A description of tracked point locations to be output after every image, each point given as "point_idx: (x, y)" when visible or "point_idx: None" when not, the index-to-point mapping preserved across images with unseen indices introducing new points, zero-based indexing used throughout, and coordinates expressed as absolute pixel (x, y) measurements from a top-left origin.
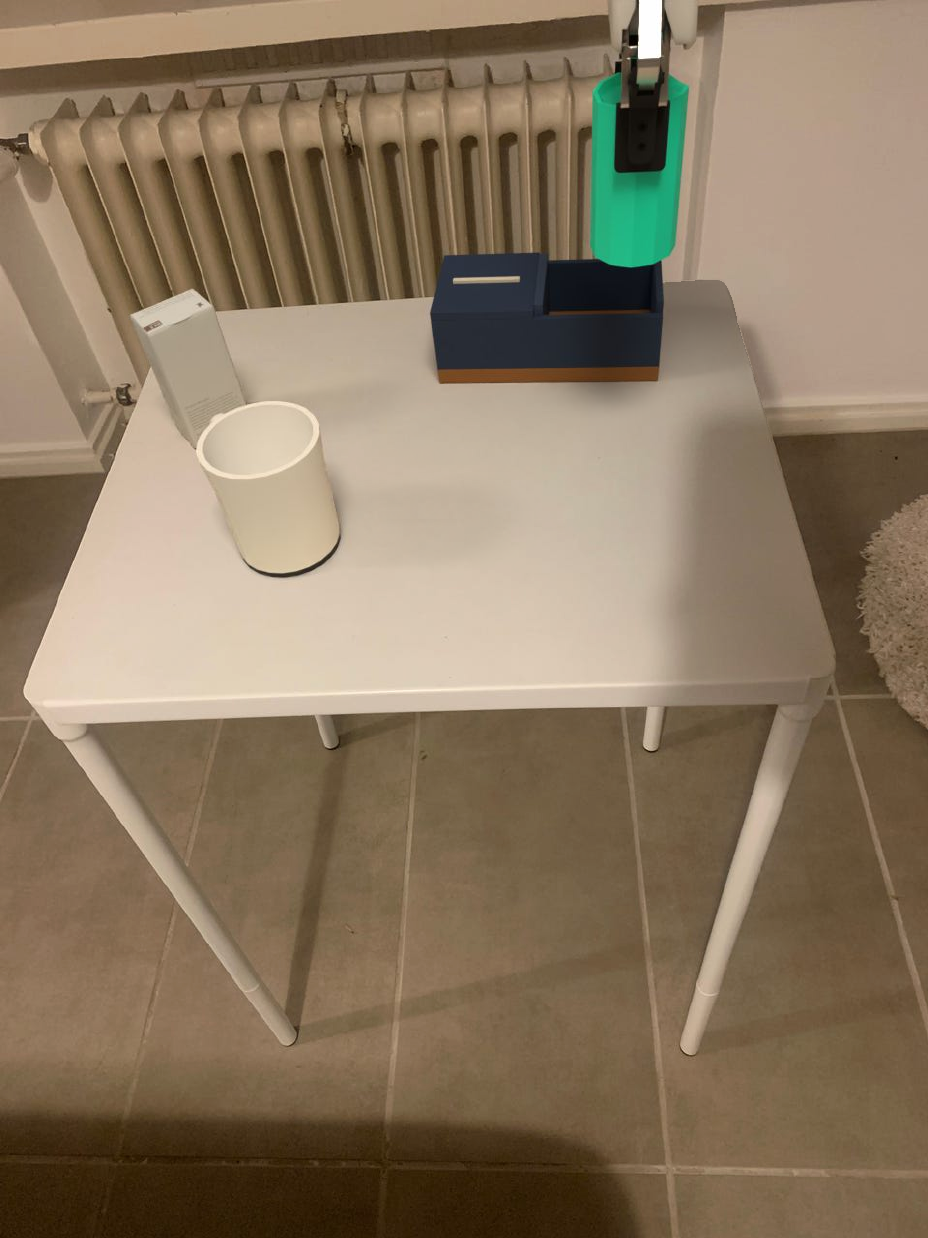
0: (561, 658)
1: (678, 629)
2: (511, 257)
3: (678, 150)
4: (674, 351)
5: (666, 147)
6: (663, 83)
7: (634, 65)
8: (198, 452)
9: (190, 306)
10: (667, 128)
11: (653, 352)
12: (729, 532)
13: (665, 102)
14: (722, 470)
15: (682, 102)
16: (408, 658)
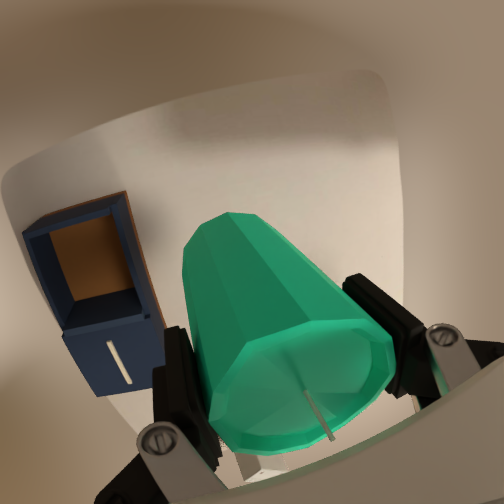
0: (391, 198)
1: (371, 141)
2: (78, 355)
3: (308, 266)
4: (82, 187)
5: (377, 286)
6: (500, 343)
7: (210, 443)
8: (366, 408)
9: (264, 474)
10: (395, 302)
11: (123, 201)
12: (296, 112)
13: (451, 328)
14: (232, 120)
15: (353, 308)
16: (391, 268)
